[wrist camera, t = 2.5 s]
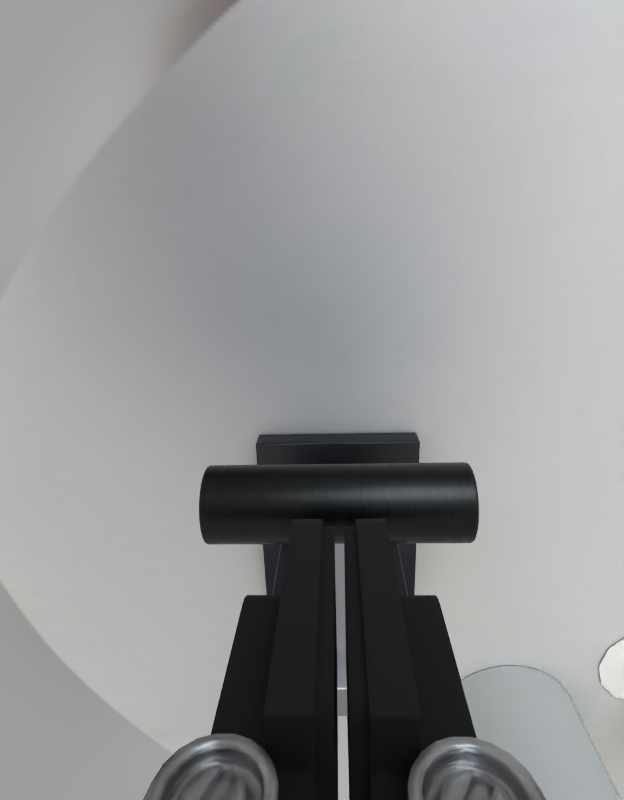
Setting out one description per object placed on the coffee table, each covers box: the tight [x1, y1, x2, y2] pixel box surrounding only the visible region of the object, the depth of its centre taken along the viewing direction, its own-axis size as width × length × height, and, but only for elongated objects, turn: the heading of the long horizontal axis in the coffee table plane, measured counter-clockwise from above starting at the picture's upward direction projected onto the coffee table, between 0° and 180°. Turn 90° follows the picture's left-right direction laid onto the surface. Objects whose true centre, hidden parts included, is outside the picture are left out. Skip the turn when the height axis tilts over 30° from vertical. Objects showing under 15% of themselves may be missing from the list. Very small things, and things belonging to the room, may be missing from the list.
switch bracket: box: [256, 433, 420, 595], centre depth 23 cm, size 10×8×12 cm
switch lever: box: [199, 462, 479, 716], centre depth 16 cm, size 12×6×2 cm, turn 2°
